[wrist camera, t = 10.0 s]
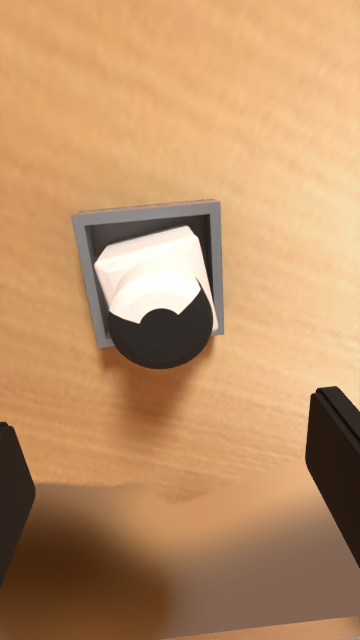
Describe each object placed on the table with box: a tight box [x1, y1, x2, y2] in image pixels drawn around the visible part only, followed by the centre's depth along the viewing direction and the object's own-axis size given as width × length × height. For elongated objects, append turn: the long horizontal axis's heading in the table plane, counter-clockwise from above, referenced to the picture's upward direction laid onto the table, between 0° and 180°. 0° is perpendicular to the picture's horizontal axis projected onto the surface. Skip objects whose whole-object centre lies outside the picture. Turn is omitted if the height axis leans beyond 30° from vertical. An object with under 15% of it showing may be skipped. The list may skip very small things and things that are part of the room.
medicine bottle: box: [94, 223, 218, 369], centre depth 24 cm, size 7×7×12 cm
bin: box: [71, 199, 224, 348], centre depth 28 cm, size 11×11×4 cm
